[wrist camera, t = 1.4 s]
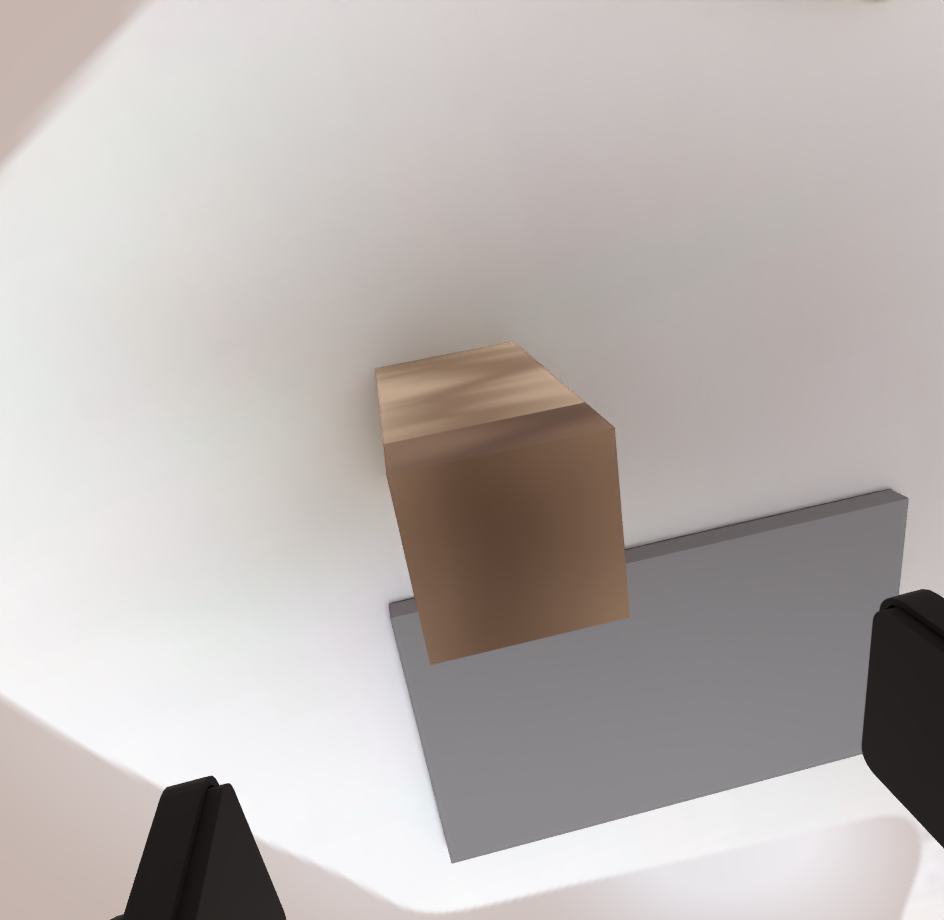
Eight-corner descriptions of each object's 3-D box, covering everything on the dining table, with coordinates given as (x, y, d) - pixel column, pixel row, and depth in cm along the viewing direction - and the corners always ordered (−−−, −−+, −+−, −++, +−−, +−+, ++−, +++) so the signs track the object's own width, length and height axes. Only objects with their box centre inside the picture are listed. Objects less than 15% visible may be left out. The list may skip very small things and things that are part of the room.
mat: (890, 489, 28) (908, 498, 27) (868, 733, 34) (882, 748, 33) (388, 604, 26) (390, 618, 25) (449, 844, 32) (451, 863, 31)
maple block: (513, 341, 23) (614, 427, 14) (531, 468, 25) (630, 617, 16) (375, 368, 23) (386, 475, 14) (403, 495, 25) (430, 665, 16)
